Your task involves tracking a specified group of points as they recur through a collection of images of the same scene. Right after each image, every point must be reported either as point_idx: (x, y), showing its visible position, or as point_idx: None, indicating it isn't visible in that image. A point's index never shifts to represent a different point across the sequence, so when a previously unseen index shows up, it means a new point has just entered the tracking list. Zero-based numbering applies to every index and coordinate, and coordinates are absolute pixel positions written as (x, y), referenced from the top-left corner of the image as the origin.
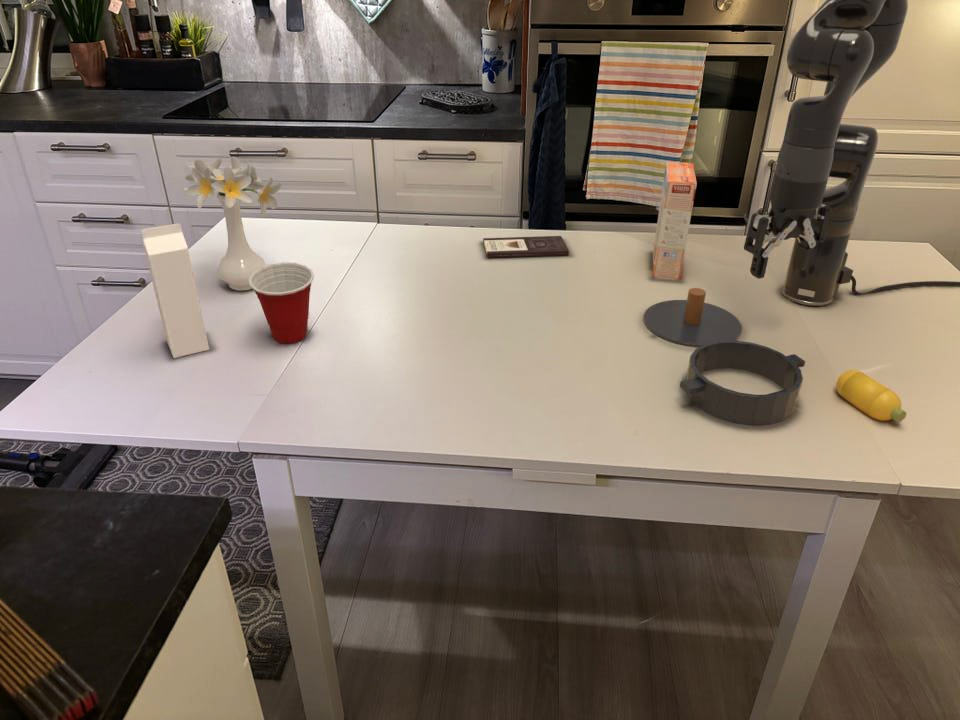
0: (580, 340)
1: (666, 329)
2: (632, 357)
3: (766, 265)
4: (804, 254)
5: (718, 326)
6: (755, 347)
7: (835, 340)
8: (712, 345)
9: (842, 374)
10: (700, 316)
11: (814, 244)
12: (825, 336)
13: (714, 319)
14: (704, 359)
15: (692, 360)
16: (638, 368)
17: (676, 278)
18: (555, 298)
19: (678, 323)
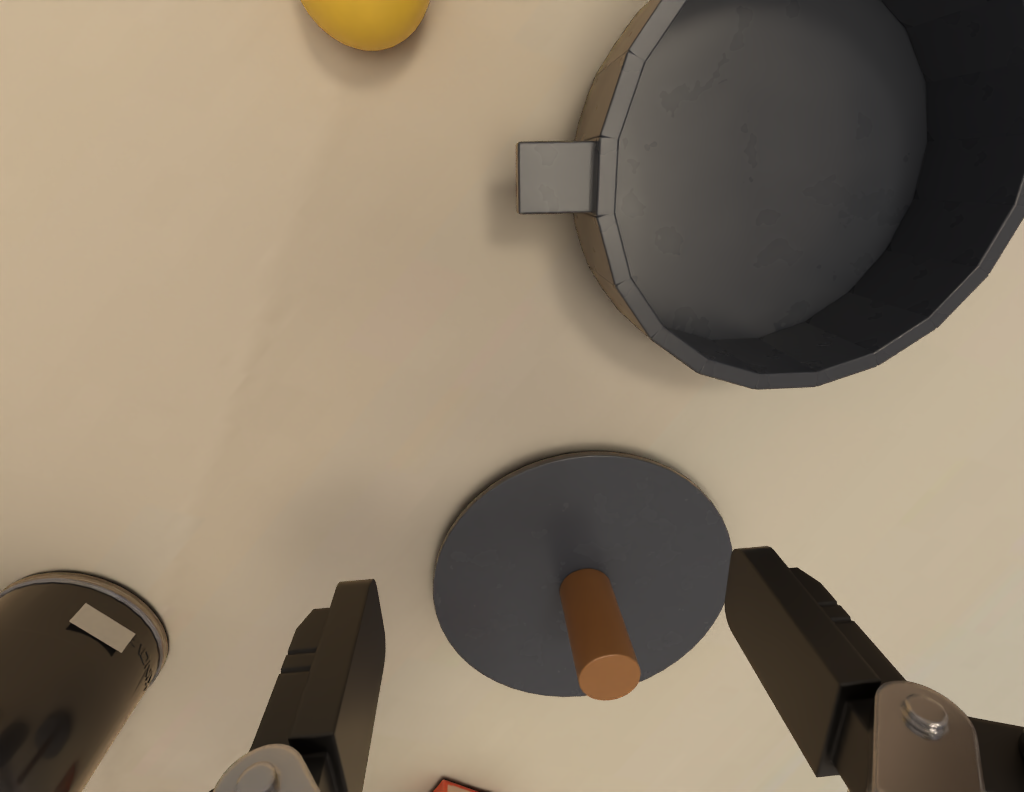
0: (911, 591)
1: (691, 568)
2: (860, 481)
3: (791, 619)
4: (350, 691)
5: (529, 542)
6: (648, 306)
7: (155, 370)
8: (795, 371)
9: (395, 10)
10: (582, 589)
11: (241, 784)
12: (177, 404)
13: (512, 579)
14: (793, 350)
15: (960, 296)
16: (891, 426)
17: (451, 788)
18: (809, 767)
19: (634, 587)
